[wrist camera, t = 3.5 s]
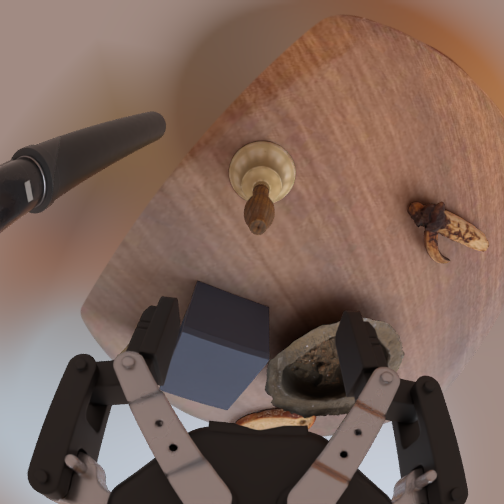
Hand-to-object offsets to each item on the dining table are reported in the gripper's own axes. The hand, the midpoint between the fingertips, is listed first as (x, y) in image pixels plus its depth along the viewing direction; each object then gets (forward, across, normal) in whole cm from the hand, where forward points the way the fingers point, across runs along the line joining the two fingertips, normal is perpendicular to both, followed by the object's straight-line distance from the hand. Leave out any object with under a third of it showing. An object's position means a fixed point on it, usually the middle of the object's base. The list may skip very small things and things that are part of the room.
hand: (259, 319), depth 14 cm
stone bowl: (+26, -16, +30) cm, 43 cm away
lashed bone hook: (+26, -29, +5) cm, 39 cm away
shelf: (+26, +6, +27) cm, 38 cm away
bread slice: (+26, -9, +61) cm, 67 cm away
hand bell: (+26, 0, 0) cm, 26 cm away
